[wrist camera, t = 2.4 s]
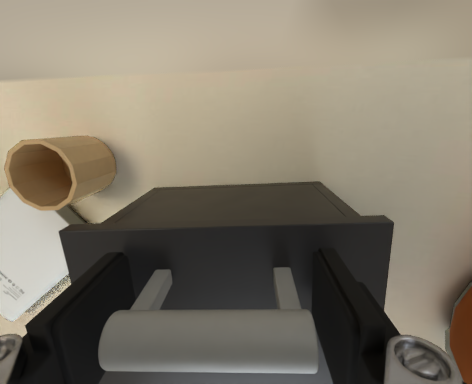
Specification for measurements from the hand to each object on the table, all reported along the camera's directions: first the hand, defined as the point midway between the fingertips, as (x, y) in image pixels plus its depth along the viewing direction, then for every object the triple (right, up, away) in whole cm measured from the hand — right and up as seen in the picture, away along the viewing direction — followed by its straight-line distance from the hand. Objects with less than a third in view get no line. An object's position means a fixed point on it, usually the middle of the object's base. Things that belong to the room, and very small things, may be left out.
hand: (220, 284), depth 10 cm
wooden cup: (-12, +6, +11) cm, 17 cm away
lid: (0, -5, +3) cm, 6 cm away
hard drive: (-18, -1, +13) cm, 23 cm away
